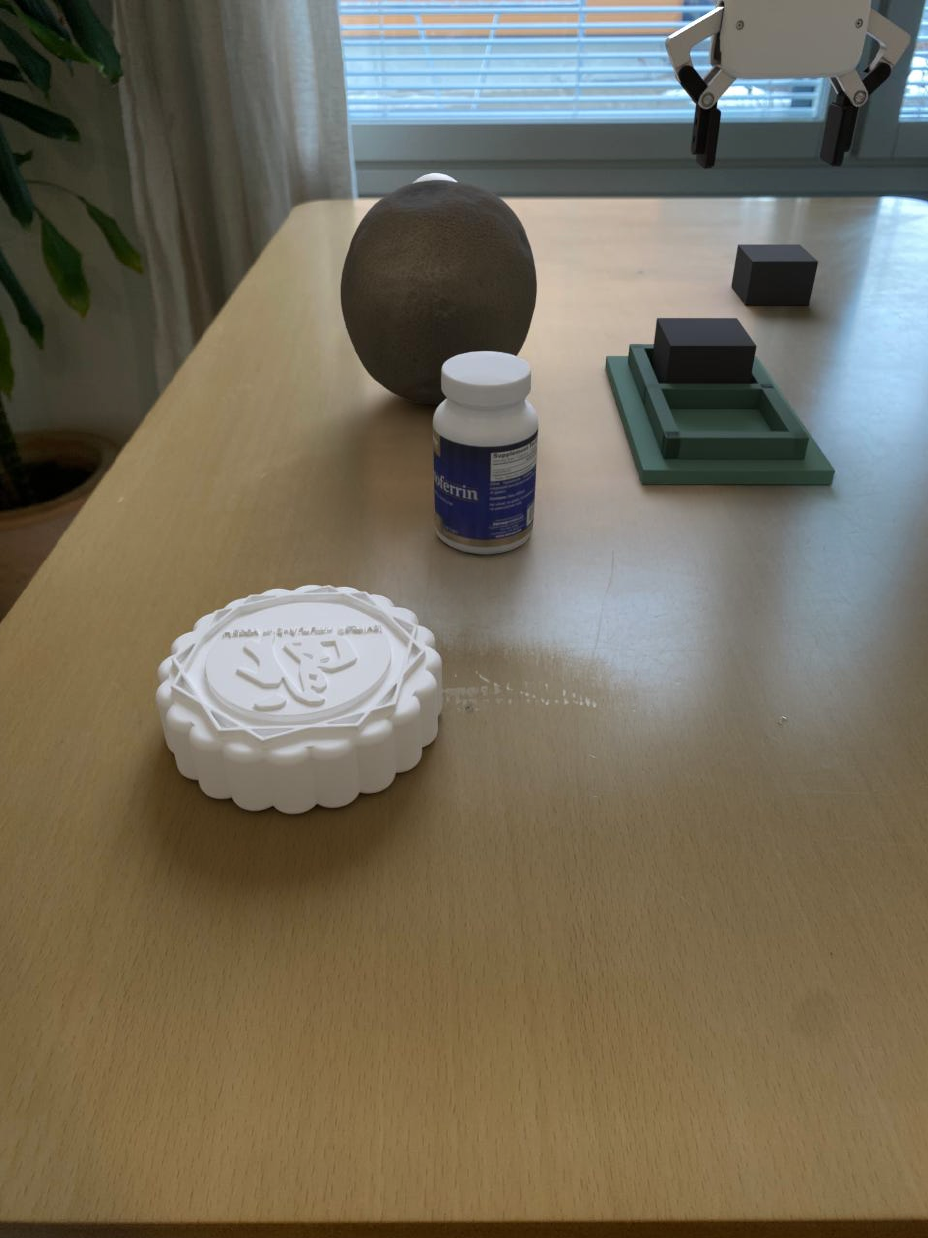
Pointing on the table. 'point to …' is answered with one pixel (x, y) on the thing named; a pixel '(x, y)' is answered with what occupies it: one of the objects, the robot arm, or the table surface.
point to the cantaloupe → (436, 284)
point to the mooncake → (300, 697)
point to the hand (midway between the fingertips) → (767, 163)
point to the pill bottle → (485, 453)
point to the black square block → (702, 351)
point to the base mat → (712, 428)
